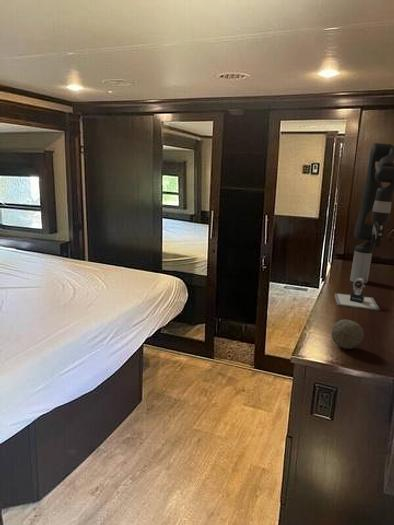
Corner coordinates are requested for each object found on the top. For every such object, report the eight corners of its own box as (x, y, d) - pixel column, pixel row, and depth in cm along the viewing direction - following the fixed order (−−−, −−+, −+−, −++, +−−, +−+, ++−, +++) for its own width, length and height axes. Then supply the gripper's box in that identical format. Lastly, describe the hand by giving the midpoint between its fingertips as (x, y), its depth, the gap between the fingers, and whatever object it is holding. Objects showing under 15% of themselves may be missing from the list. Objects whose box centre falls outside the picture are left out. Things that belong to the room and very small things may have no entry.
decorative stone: (329, 349, 135) (333, 322, 132) (330, 340, 142) (334, 314, 140) (361, 356, 131) (366, 328, 129) (360, 346, 139) (365, 319, 137)
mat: (334, 294, 198) (334, 292, 198) (372, 298, 194) (372, 297, 194) (337, 305, 181) (338, 304, 181) (379, 310, 177) (380, 309, 177)
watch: (348, 301, 185) (352, 279, 183) (352, 297, 192) (355, 275, 189) (361, 304, 182) (365, 281, 180) (364, 300, 189) (368, 278, 187)
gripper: (393, 213, 175) (386, 249, 179) (387, 209, 188) (381, 243, 193) (375, 212, 177) (368, 247, 181) (370, 208, 190) (364, 241, 194)
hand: (375, 245), depth 187 cm, fingers open, 8 cm apart
